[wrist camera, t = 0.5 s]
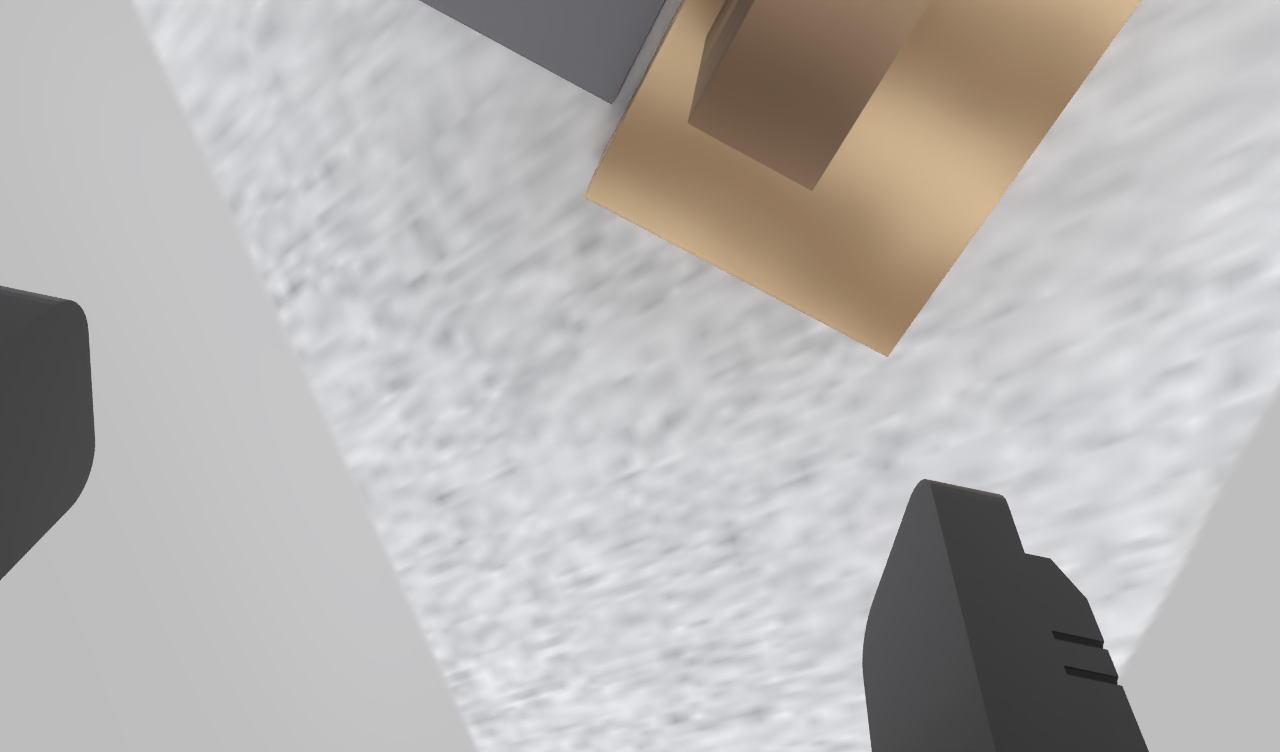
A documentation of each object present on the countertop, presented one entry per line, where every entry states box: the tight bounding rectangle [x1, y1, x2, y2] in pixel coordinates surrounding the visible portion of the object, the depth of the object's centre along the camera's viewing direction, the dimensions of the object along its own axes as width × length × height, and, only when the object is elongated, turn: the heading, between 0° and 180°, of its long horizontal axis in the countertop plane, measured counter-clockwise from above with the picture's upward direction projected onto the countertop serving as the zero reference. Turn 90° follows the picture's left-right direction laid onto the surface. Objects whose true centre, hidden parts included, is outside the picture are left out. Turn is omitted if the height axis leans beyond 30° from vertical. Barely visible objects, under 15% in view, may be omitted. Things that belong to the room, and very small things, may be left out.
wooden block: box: [584, 0, 1141, 357], centre depth 33 cm, size 18×11×4 cm, turn 153°
